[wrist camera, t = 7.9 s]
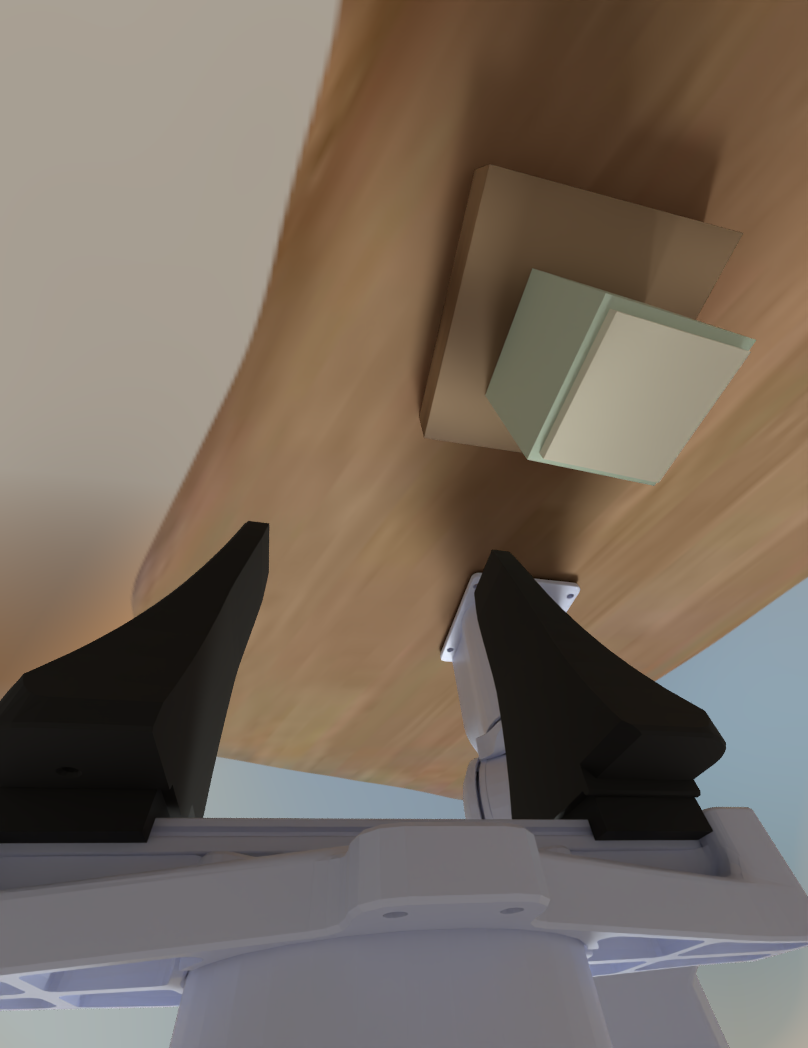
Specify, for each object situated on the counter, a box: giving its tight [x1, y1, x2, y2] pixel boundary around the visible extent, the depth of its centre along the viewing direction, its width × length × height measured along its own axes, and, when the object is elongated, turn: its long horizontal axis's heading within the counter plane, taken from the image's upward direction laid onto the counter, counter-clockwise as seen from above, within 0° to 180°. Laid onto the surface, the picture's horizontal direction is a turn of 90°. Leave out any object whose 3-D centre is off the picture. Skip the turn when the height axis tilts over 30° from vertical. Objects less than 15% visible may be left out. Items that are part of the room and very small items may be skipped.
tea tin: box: [485, 268, 756, 486], centre depth 15 cm, size 5×5×6 cm
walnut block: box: [419, 164, 743, 453], centre depth 19 cm, size 10×10×3 cm
